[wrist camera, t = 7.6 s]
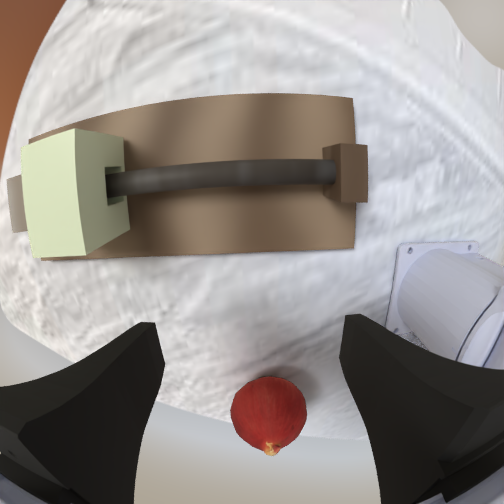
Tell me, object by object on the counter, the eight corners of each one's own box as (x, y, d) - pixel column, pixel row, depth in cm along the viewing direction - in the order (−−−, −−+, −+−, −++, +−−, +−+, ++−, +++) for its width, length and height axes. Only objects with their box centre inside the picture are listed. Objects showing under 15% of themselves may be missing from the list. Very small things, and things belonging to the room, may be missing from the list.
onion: (301, 397, 23) (315, 466, 15) (240, 405, 23) (238, 476, 15) (296, 350, 21) (314, 427, 13) (226, 361, 21) (218, 439, 14)
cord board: (347, 101, 16) (379, 82, 11) (348, 244, 19) (379, 268, 14) (36, 139, 16) (-5, 138, 11) (48, 256, 19) (11, 278, 14)
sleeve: (123, 137, 15) (74, 128, 10) (130, 229, 17) (86, 255, 11) (74, 148, 15) (20, 147, 10) (82, 233, 17) (32, 257, 11)
